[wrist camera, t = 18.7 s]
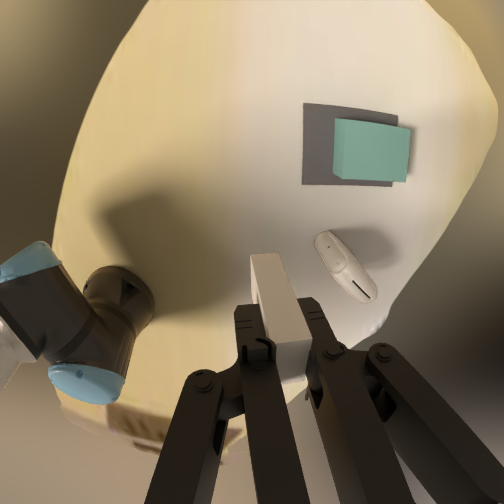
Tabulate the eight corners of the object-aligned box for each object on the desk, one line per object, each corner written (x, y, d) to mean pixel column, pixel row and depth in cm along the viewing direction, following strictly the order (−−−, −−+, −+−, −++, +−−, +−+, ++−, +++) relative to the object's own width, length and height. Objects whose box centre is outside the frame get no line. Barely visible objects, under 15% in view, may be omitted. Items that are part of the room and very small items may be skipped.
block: (342, 178, 37) (405, 182, 38) (345, 119, 33) (410, 129, 34) (332, 173, 41) (393, 176, 42) (334, 118, 37) (397, 127, 37)
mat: (301, 184, 42) (302, 184, 42) (303, 103, 36) (304, 103, 35) (390, 186, 43) (391, 186, 43) (396, 115, 37) (397, 116, 36)
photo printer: (308, 242, 47) (332, 282, 36) (326, 225, 46) (355, 262, 35) (341, 273, 51) (366, 314, 40) (357, 258, 50) (386, 297, 39)
